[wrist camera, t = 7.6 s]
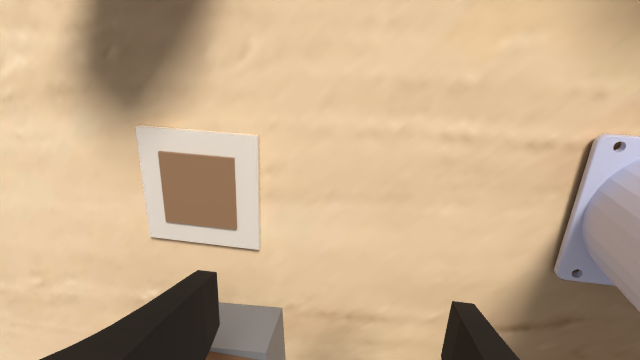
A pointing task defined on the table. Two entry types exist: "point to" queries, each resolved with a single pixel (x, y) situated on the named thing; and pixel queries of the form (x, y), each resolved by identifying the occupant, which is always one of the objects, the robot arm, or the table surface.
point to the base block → (250, 332)
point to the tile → (201, 185)
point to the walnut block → (224, 356)
